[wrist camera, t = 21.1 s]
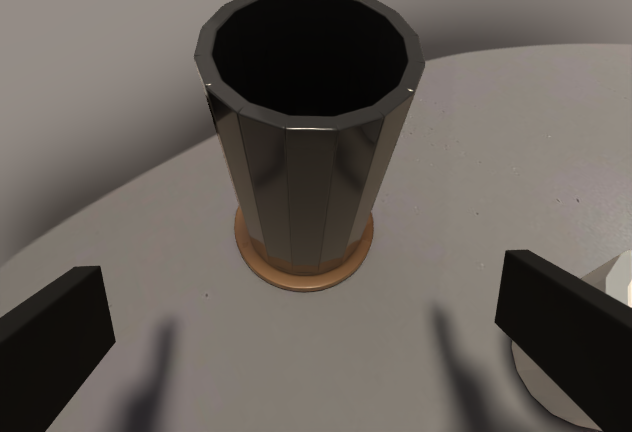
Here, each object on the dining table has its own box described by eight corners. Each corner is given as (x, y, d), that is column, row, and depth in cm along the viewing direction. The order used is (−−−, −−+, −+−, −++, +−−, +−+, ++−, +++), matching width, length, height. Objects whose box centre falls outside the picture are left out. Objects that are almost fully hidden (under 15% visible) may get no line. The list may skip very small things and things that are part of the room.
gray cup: (226, 249, 19) (146, 82, 9) (277, 161, 22) (260, -35, 12) (339, 295, 18) (388, 164, 8) (376, 196, 21) (444, 14, 11)
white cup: (524, 269, 19) (628, 207, 13) (652, 344, 18) (840, 312, 11) (478, 378, 16) (584, 363, 10) (626, 480, 15) (858, 534, 9)
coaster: (210, 213, 20) (207, 208, 20) (316, 151, 23) (316, 145, 22) (289, 323, 17) (288, 320, 17) (399, 237, 20) (402, 233, 19)
